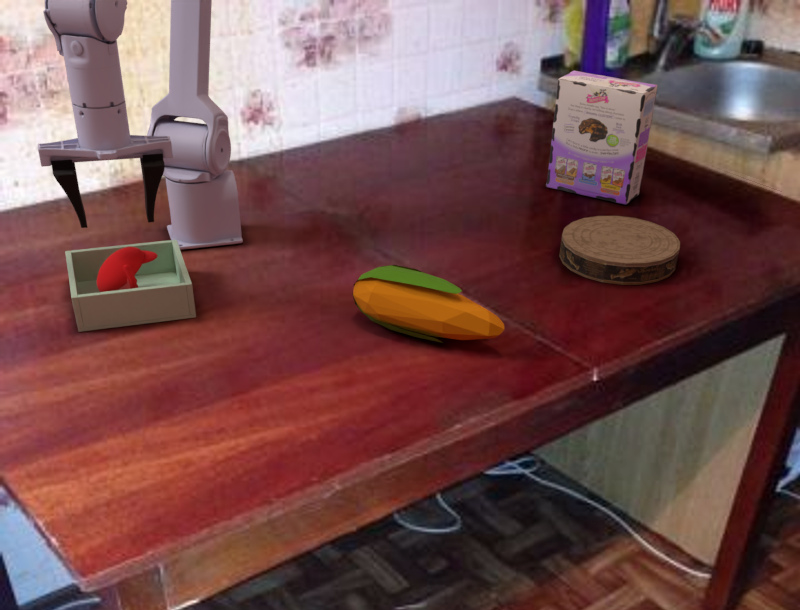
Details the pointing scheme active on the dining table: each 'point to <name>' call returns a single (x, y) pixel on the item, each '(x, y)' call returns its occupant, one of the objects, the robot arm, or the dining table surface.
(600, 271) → the tin can
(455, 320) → the corn
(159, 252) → the bin
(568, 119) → the candy box
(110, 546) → the dining table surface
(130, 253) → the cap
